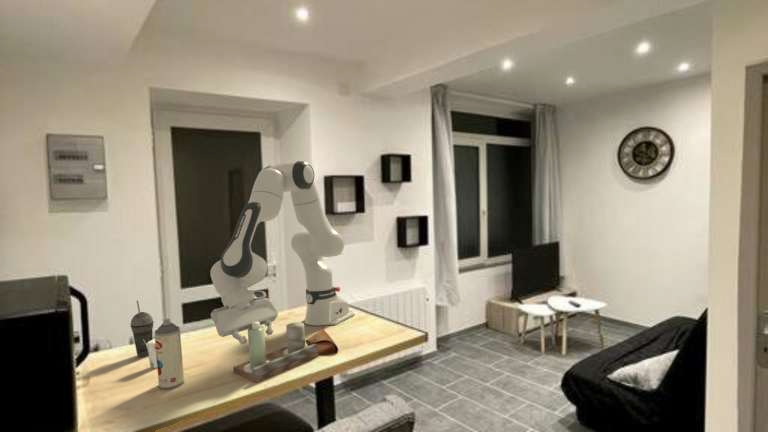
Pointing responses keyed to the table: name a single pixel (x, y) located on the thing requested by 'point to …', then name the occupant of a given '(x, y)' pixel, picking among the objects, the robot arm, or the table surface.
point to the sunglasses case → (323, 343)
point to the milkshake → (152, 353)
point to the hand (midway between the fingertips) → (257, 338)
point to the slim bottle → (256, 345)
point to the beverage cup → (142, 331)
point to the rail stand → (281, 356)
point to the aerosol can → (169, 356)
